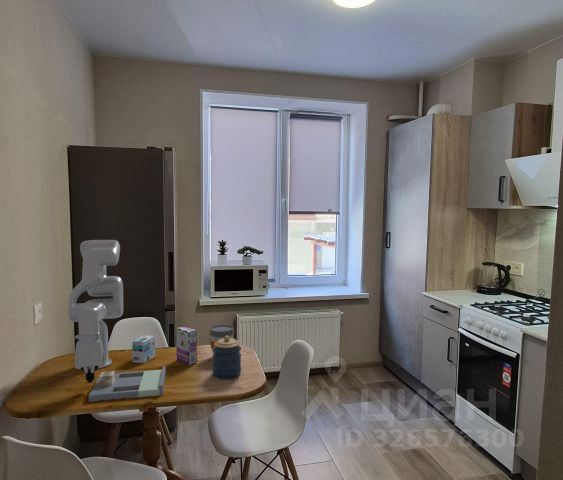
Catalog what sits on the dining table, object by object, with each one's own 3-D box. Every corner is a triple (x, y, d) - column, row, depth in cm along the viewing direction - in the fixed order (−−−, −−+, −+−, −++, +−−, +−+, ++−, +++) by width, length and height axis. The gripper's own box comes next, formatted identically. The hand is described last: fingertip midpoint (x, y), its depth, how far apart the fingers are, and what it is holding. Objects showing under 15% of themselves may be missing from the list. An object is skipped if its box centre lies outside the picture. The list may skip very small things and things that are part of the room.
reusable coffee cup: (234, 352, 205) (234, 324, 204) (233, 361, 192) (233, 331, 191) (210, 352, 204) (210, 324, 203) (207, 361, 191) (207, 331, 190)
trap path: (88, 401, 149) (88, 391, 148) (100, 379, 169) (100, 371, 168) (162, 395, 155) (162, 385, 155) (165, 374, 175) (165, 366, 175)
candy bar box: (197, 363, 189) (197, 330, 188) (188, 365, 185) (188, 332, 185) (184, 357, 197) (184, 325, 196) (176, 360, 193) (175, 327, 192)
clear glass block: (99, 386, 156) (98, 376, 156) (101, 381, 161) (101, 371, 161) (112, 385, 158) (112, 375, 157) (114, 380, 162) (114, 370, 162)
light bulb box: (144, 363, 188) (144, 342, 187) (131, 362, 189) (131, 341, 188) (155, 356, 198) (155, 335, 198) (143, 355, 199) (143, 334, 199)
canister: (216, 381, 168) (216, 341, 167) (209, 370, 180) (209, 333, 179) (244, 376, 173) (245, 338, 172) (236, 366, 185) (236, 330, 184)
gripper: (66, 341, 152) (67, 387, 153) (107, 339, 155) (108, 383, 156) (72, 335, 159) (73, 379, 160) (111, 333, 162) (111, 376, 163)
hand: (90, 381), depth 158 cm, fingers closed
